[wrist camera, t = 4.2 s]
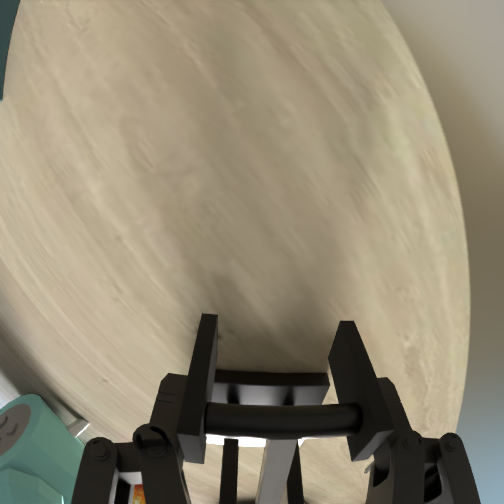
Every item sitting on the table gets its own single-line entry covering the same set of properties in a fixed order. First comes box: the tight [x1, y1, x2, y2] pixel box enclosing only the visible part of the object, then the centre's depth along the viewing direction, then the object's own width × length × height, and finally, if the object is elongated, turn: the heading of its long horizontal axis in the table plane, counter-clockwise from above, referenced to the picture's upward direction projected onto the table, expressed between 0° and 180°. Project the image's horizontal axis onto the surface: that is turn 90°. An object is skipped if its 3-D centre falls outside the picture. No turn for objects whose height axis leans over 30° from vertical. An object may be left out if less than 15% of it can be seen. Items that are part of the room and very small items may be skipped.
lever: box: [204, 402, 362, 504], centre depth 10 cm, size 13×6×2 cm, turn 176°
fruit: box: [132, 484, 146, 504], centre depth 32 cm, size 11×10×8 cm
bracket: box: [206, 370, 330, 504], centre depth 15 cm, size 10×9×13 cm
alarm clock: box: [0, 394, 89, 504], centre depth 15 cm, size 17×10×20 cm, turn 112°
